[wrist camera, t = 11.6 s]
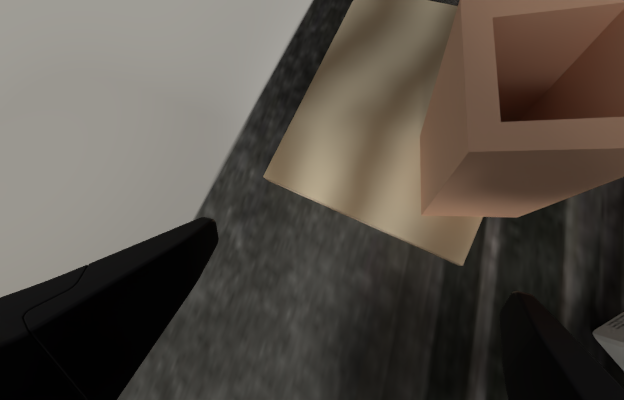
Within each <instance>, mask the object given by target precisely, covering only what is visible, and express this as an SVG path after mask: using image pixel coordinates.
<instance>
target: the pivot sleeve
mask: <svg viewBox="0 0 624 400" xmlns="http://www.w3.org/2000/svg"><path fill="white" fill-rule="evenodd" d="M420 172H421V215H422V216H470V217H520V216H523V215H525V214H528V213H530V212H533V211H536V210H538V209H541V208H544V207H546V206H549V205H551V204H554V203H557V202H559V201H562V200H565V199H567V198H570V197H572V196H575V195H578V194H580V193H583V192H585V191H588V190H591V189H593V188H596V187H599V186H601V185H604V184H606V183H609V182H612V181H614V180H617V179H619V178H622V177H624V0H460V1H459V4H458V8H457V11H456V14H455V18H454V21H453V25H452V28H451V32H450V35H449V38H448V42H447V45H446V49H445V52H444V56H443V59H442V62H441V66H440V69H439V73H438V76H437V79H436V83H435V86H434V90H433V93H432V97H431V100H430V103H429V107H428V110H427V114H426V117H425V120H424V124H423V127H422V131H421V134H420Z"/></svg>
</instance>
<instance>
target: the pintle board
mask: <svg viewBox="0 0 624 400" xmlns="http://www.w3.org/2000/svg"><path fill="white" fill-rule="evenodd" d="M457 8H458V6H454V5H449V4H444V3H439V2H434V1H429V0H353V2H352V4H351V6H350V8H349V10H348V12H347V14H346V16H345V18H344V20H343V21H342V23H341V25H340V27H339V29H338V31H337V33H336V35H335V37H334V39H333V41H332V43H331V45H330V47H329V49H328V51H327V53H326V55H325V57H324V59H323V61H322V63H321V65H320V66H319V68H318V70H317V72H316V74H315V76H314V78H313V80H312V82H311V84H310V86H309V88H308V90H307V92H306V94H305V96H304V98H303V100H302V102H301V104H300V106H299V108H298V110H297V112H296V113H295V115H294V117H293V119H292V121H291V123H290V125H289V127H288V129H287V131H286V133H285V135H284V137H283V139H282V141H281V143H280V145H279V147H278V149H277V151H276V153H275V155H274V157H273V159H272V160H271V162H270V164H269V166H268V168H267V170H266V172H265V174H264V176H263V177H264V178H265V179H267V180H268V181H270V182H272V183H275V184H277V185H279V186H281V187H284V188H286V189H288V190H290V191H293V192H295V193H297V194H299V195H302V196H304V197H306V198H308V199H311V200H313V201H315V202H317V203H319V204H322V205H324V206H326V207H328V208H331V209H333V210H335V211H337V212H340V213H342V214H344V215H346V216H349V217H351V218H353V219H355V220H358V221H360V222H362V223H364V224H367V225H369V226H371V227H373V228H376V229H378V230H380V231H382V232H384V233H387V234H389V235H391V236H393V237H396V238H398V239H400V240H402V241H405V242H407V243H409V244H411V245H414V246H416V247H418V248H420V249H423V250H425V251H427V252H429V253H432V254H434V255H436V256H438V257H440V258H443V259H445V260H447V261H449V262H452V263H454V264H456V265H458V266H463V264H464V262H465V259H466V257H467V254H468V252H469V250H470V247H471V245H472V242H473V240H474V237H475V235H476V233H477V230H478V228H479V225H480V223H481V221H482V218H483V217H470V216H422V215H421V172H420V134H421V131H422V127H423V124H424V120H425V117H426V114H427V110H428V107H429V103H430V100H431V97H432V93H433V90H434V86H435V83H436V79H437V76H438V73H439V69H440V66H441V62H442V59H443V56H444V52H445V49H446V45H447V42H448V38H449V35H450V32H451V28H452V25H453V21H454V18H455V14H456V11H457Z"/></svg>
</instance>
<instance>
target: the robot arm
mask: <svg viewBox="0 0 624 400" xmlns="http://www.w3.org/2000/svg"><path fill="white" fill-rule="evenodd" d="M217 244H218V232H217V226H216V222H215V220H213V219H211V218H206V217H201V218H199V219H196V220H194V221H191V222H189V223H186V224H184V225H182V226H179V227H177V228H174V229H172V230H170V231H167V232H165V233H162V234H160V235H158V236H155V237H153V238H150V239H148V240H146V241H143V242H141V243H138V244H136V245H133V246H131V247H129V248H126V249H124V250H122V251H119V252H117V253H115V254H112V255H109V256H107V257H105V258H102V259H100V260H97V261H95V262H92V263H90V264H89V265H85V266H83V267H80V268H78V269H76V270H73V271H71V272H68V273H66V274H63V275H61V276H58V277H56V278H53V279H51V280H48V281H45V282H43V283H40V284H37V285H34V286H32V287H29V288H26V289H23V290H20V291H18V292H15V293H12V294H9V295H6V296H3V297H1V298H0V400H117V399H118V397H119V396H120V394H121V393H122V391H123V390H124V388H125V387H126V385H127V384H128V383H129V381H130V380H131V378H132V377H133V375H134V374H135V372H136V371H137V369H138V368H139V366H140V365H141V364H142V362H143V361H144V359H145V358H146V356H147V355H148V353H149V352H150V350H151V349H152V347H153V346H154V344H155V343H156V342H157V340H158V339H159V337H160V336H161V334H162V333H163V331H164V330H165V328H166V327H167V325H168V324H169V323H170V321H171V320H172V318H173V317H174V315H175V314H176V312H177V311H178V309H179V308H180V306H181V305H182V304H183V302H184V301H185V299H186V298H187V296H188V295H189V293H190V292H191V290H192V289H193V287H194V286H195V284H196V283H197V281H198V279H199V278H200V276H201V274H202V272H203V270H204V268H205V266H206V265H207V263H208V261H209V259H210V257H211V255H212V253H213V252H214V250H215V248H216V246H217ZM500 329H501V344H502V359H503V371H504V378H505V384H506V389H507V395H508V400H624V389H623V388H622V387H621V386H620V384H619V383H618V382H617V381H616V380H615V379H614V378H613V377H612V376H611V375H610V374H609V373H608V372H607V371H606V370H605V369H604V368H603V367H602V366H601V365H600V364H599V363H598V362H597V361H596V360H595V359H594V358H593V357H592V356H591V355H590V354H589V353H588V351H587V350H586V349H585V348H584V347H583V346H582V345H581V344H580V343H579V342H578V341H577V340H576V339H575V338H574V337H573V336H572V335H571V334H570V333H569V332H568V331H567V330H566V329H565V328H564V327H563V326H562V325H561V324H560V323H559V322H558V321H557V320H556V319H555V317H554V316H553V315H552V314H551V313H550V312H549V311H548V310H547V309H546V308H545V307H544V306H543V305H542V304H541V303H540V302H539V301H538V300H537V299H536V298H535V297H534V296H533V295H531V294H528V293H524V292H519V291H514V292H512V293H511V295H510V296H509V298H508V299H507V301H506V303H505V304H504V306H503V307H502V309H501V312H500Z"/></svg>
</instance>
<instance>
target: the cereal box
mask: <svg viewBox="0 0 624 400" xmlns="http://www.w3.org/2000/svg"><path fill="white" fill-rule="evenodd" d="M592 334H593V336H594V337H595V339H596V340H597V341H598V342H599V343H600V345H601V346H602V347H603V348H604V349H605V350H606V351H607V353H608V354H609V355H610V356H611V357H612V358H613V359H614V361H615V362H616V363H617V364H618V365H619V366H620V368H621V369H622V370H623V371H624V312H623V313H621V314H619V315H618V316H616V317H615V318H613V319H611V320H610V321H608V322H607V323H605V324H603V325H602V326H600V327H598V328H597V329H595V330H594V331H593V333H592Z"/></svg>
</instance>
